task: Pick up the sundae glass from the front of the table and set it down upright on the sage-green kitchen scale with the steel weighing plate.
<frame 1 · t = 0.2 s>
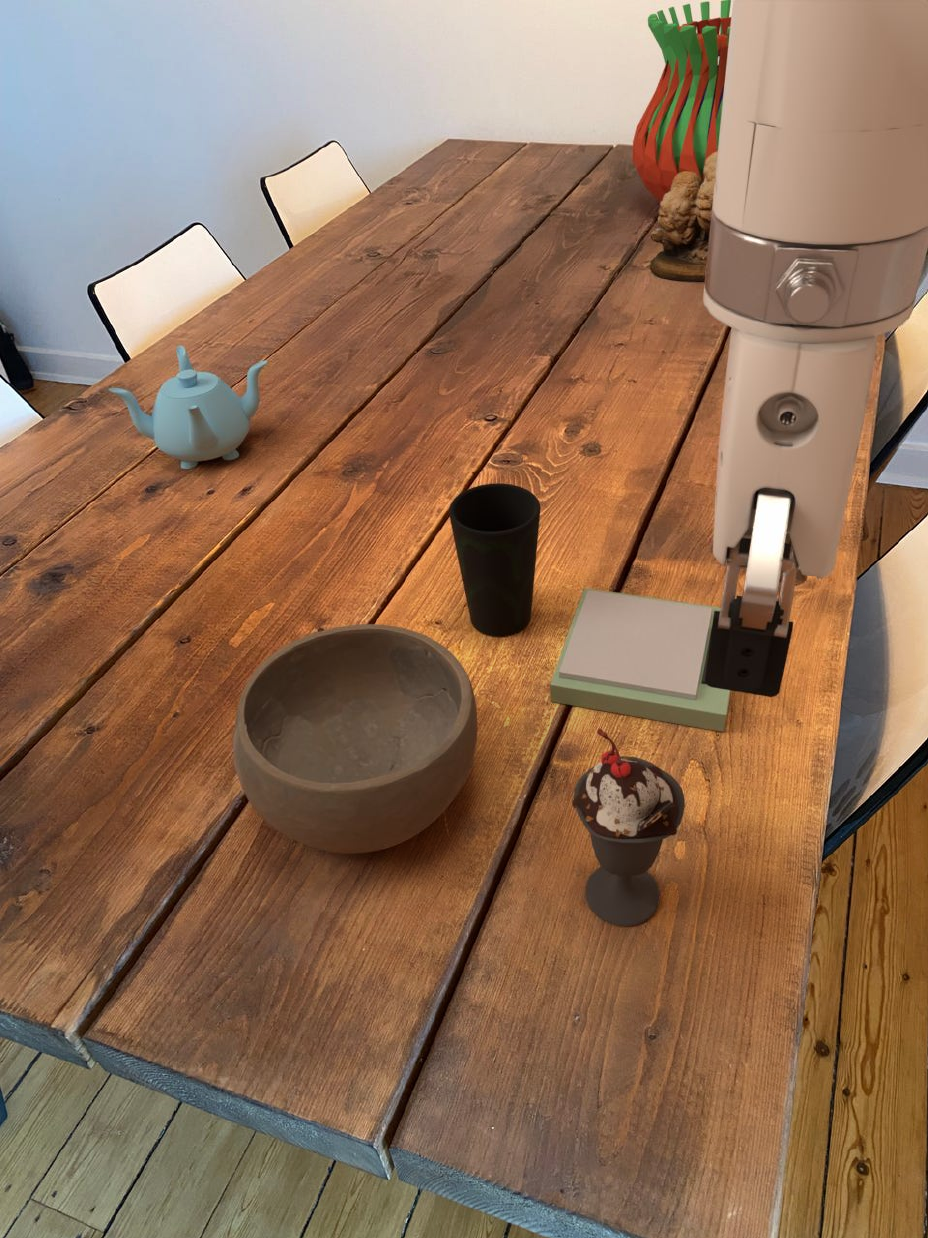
hand: (750, 618, 46), 26 cm above the table, tool pointing down, fingers open, 9 cm apart
vase: (715, 209, 170), on the table
teapot: (209, 451, 114), on the table
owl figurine: (707, 269, 148), on the table
sundae: (621, 895, 64), on the table
scale: (648, 663, 81), on the table
cup: (500, 618, 87), on the table
bowl: (370, 792, 72), on the table
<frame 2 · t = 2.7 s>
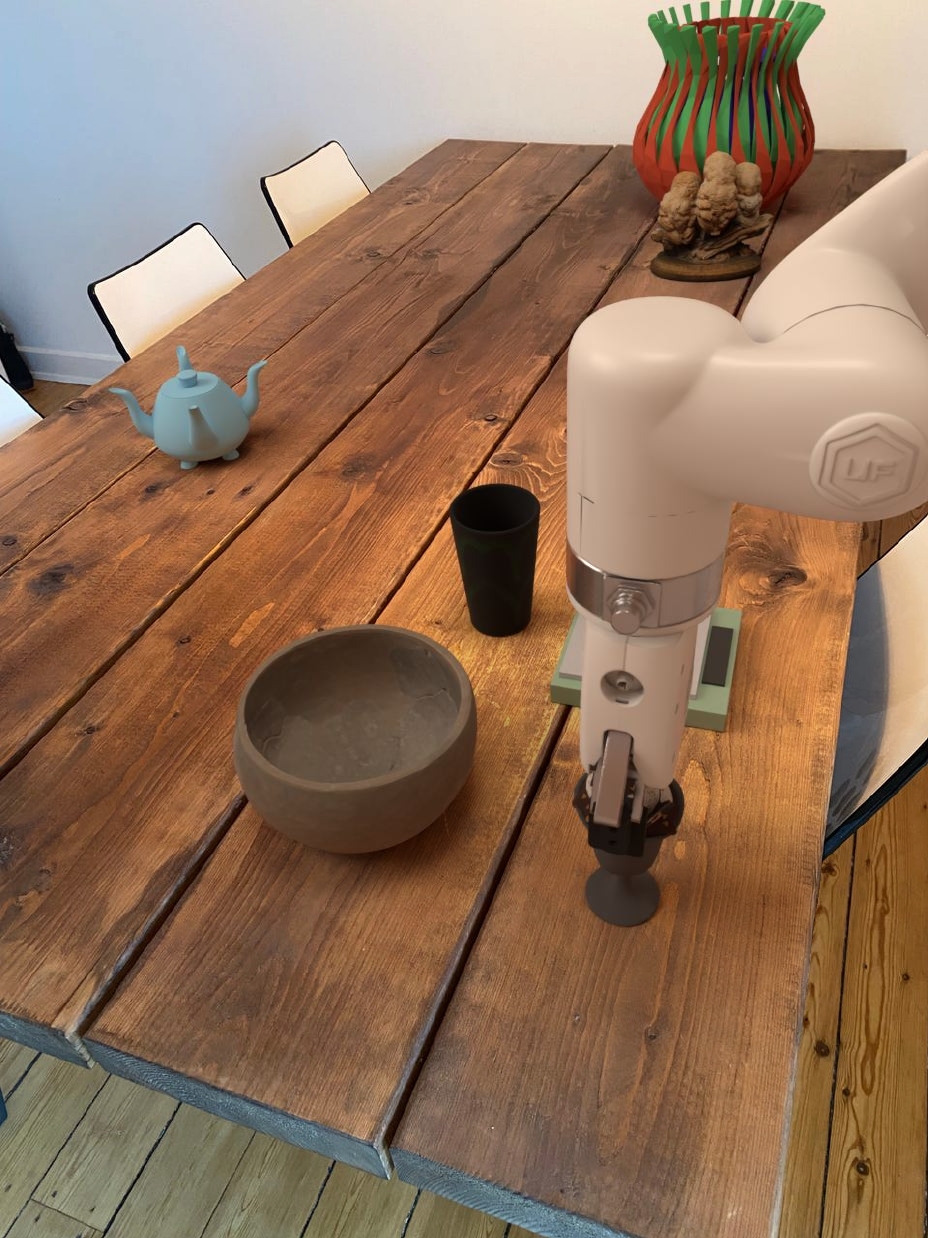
hand: (627, 798, 57), 10 cm above the table, tool pointing down, fingers closed on sundae, 6 cm apart
sundae: (621, 895, 64), on the table, touching gripper
everything else where it was.
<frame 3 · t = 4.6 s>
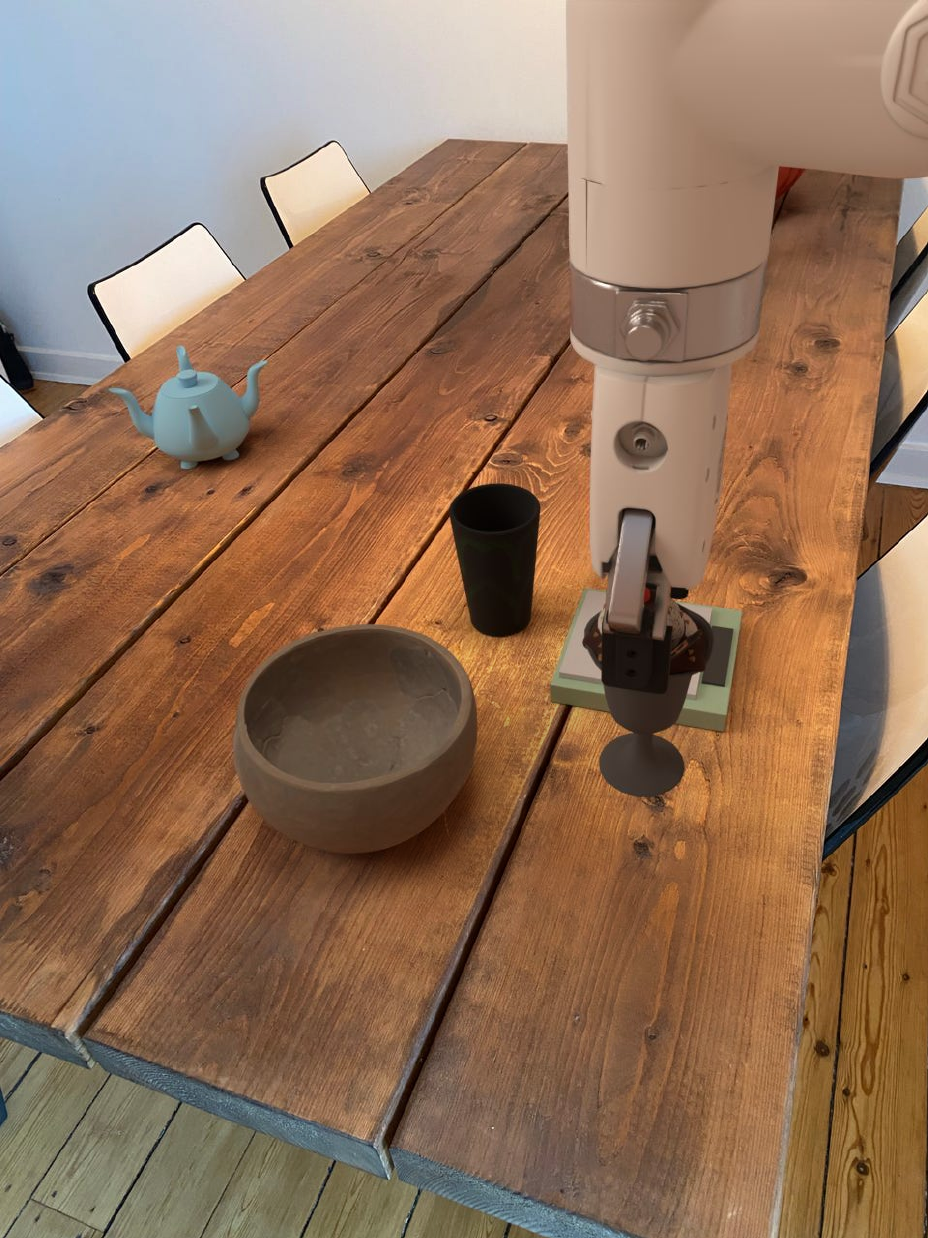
hand: (647, 635, 49), 23 cm above the table, tool pointing down, fingers closed on sundae, 6 cm apart
sundae: (640, 767, 56), point 13 cm above the table, touching gripper
everything else where it was.
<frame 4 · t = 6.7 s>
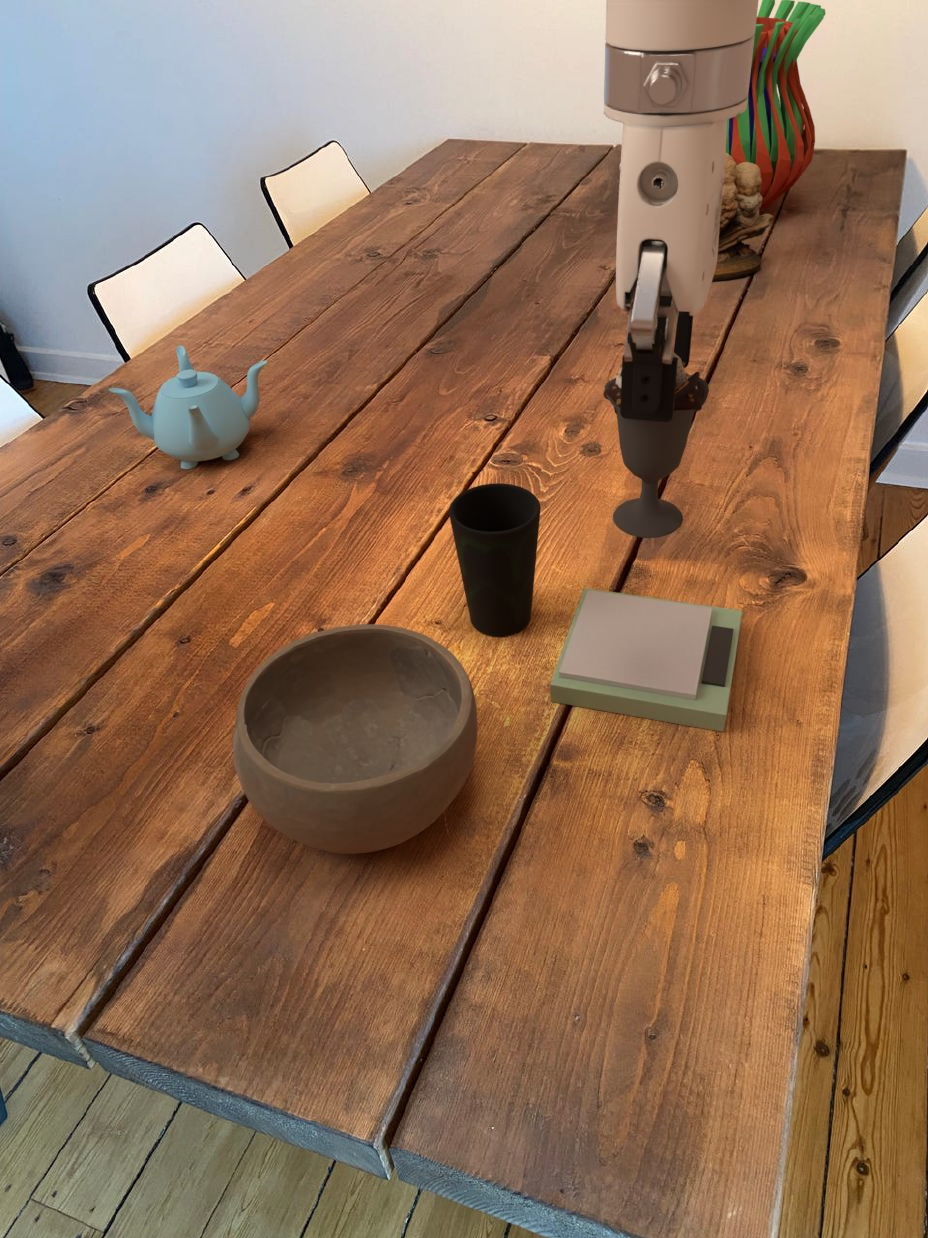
hand: (655, 388, 61), 27 cm above the table, tool pointing down, fingers closed on sundae, 6 cm apart
sundae: (646, 520, 68), point 17 cm above the table, touching gripper
everything else where it was.
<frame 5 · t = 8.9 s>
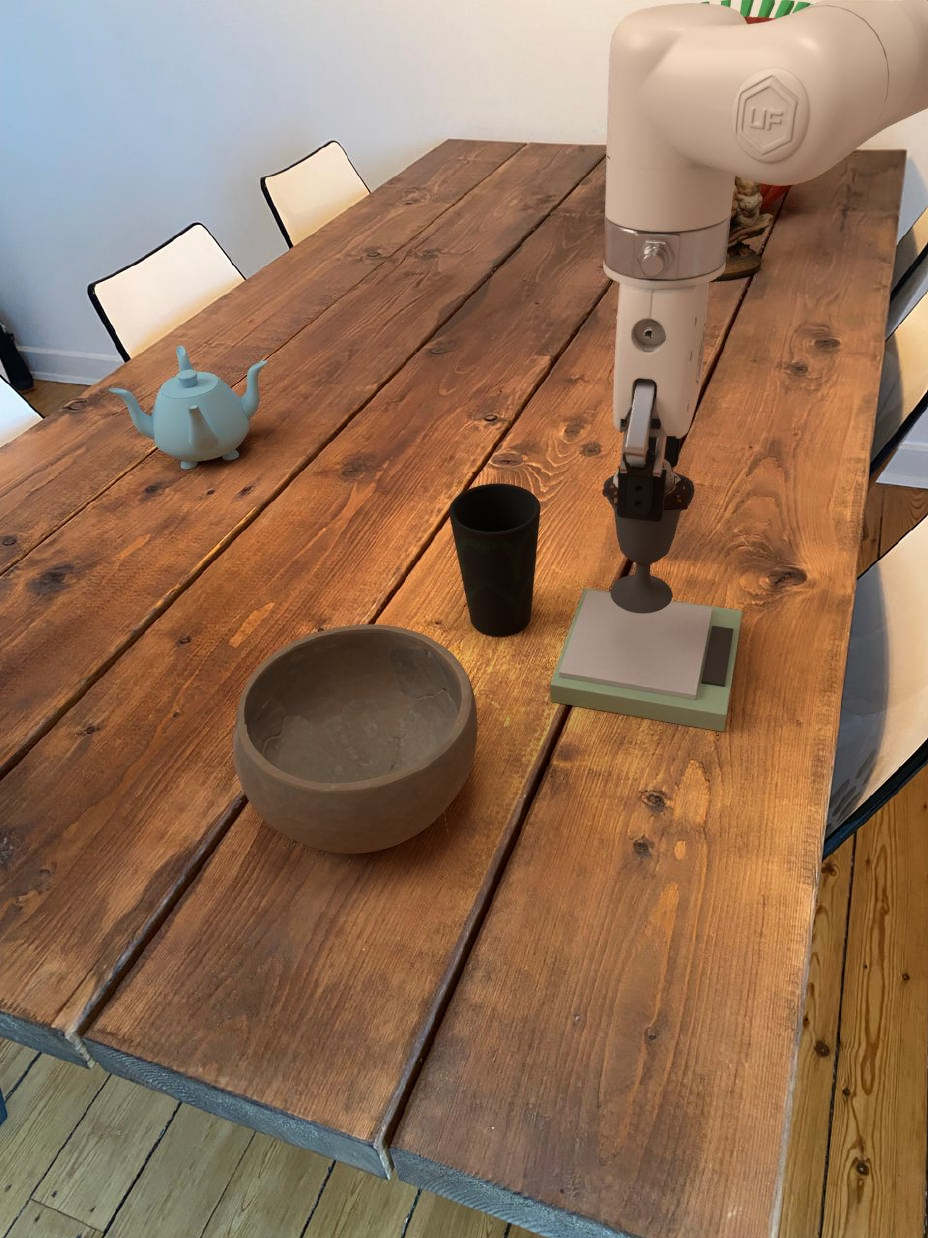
hand: (648, 487, 70), 17 cm above the table, tool pointing down, fingers closed on sundae, 6 cm apart
sundae: (640, 596, 76), point 7 cm above the table, touching gripper
everything else where it was.
when the fingers open (13 cm above the table, at t = 10.6 s): sundae stays where it is, resting on scale.
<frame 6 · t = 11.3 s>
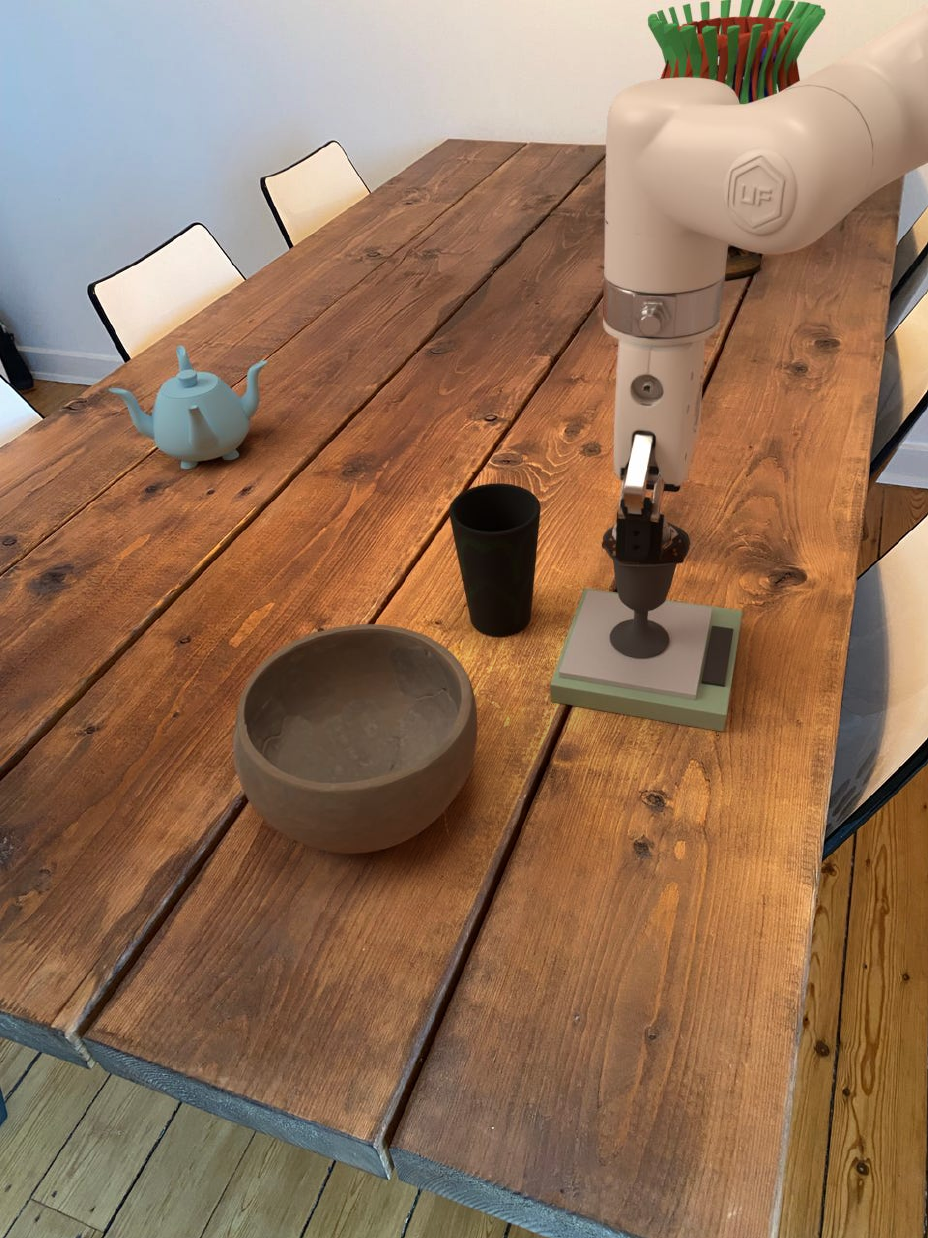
hand: (649, 522, 72), 14 cm above the table, tool pointing down, fingers open, 9 cm apart
sundae: (638, 640, 79), point 2 cm above the table, touching scale
everything else where it was.
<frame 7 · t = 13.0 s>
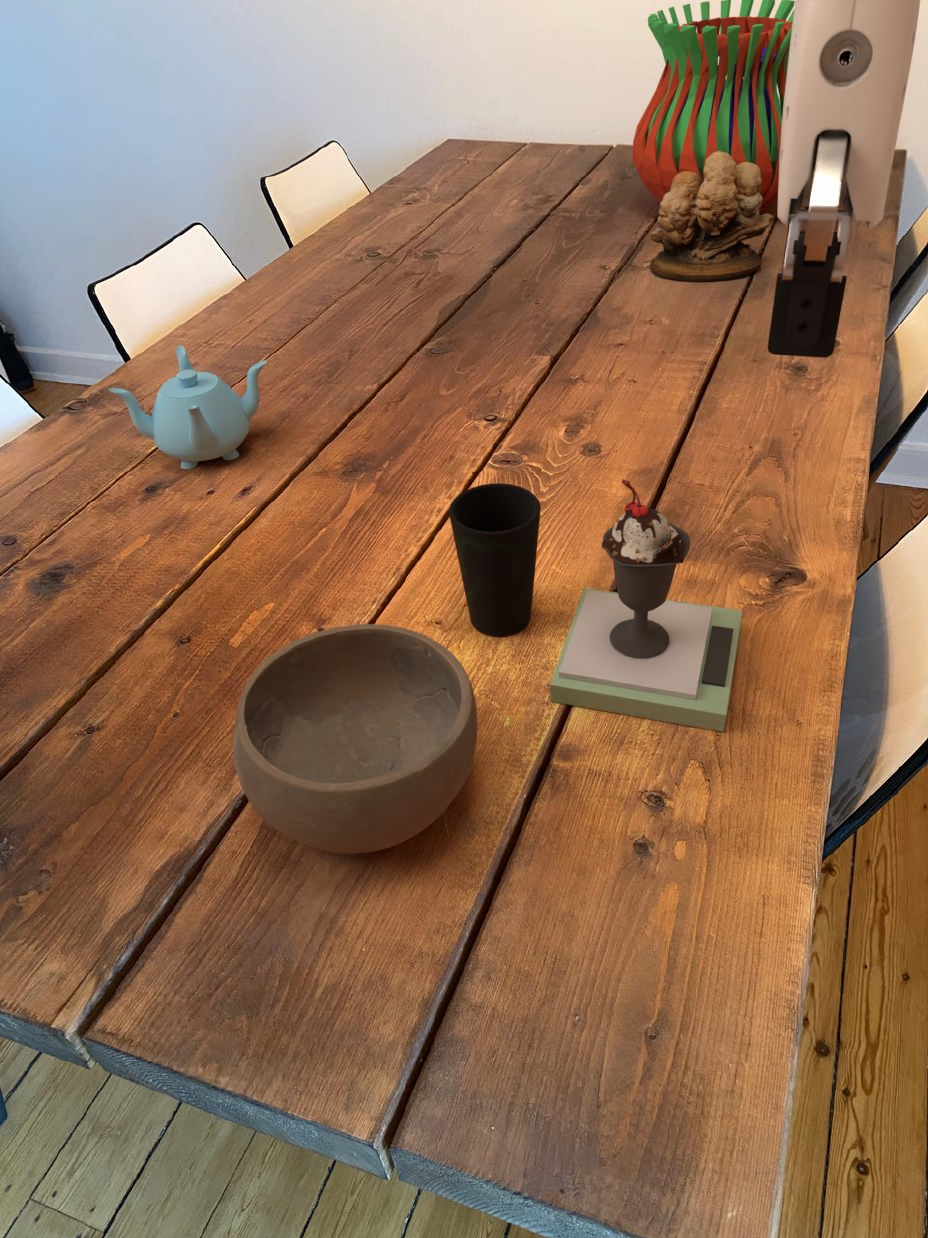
hand: (804, 315, 52), 34 cm above the table, tool pointing down, fingers open, 9 cm apart
nothing on the table moved.
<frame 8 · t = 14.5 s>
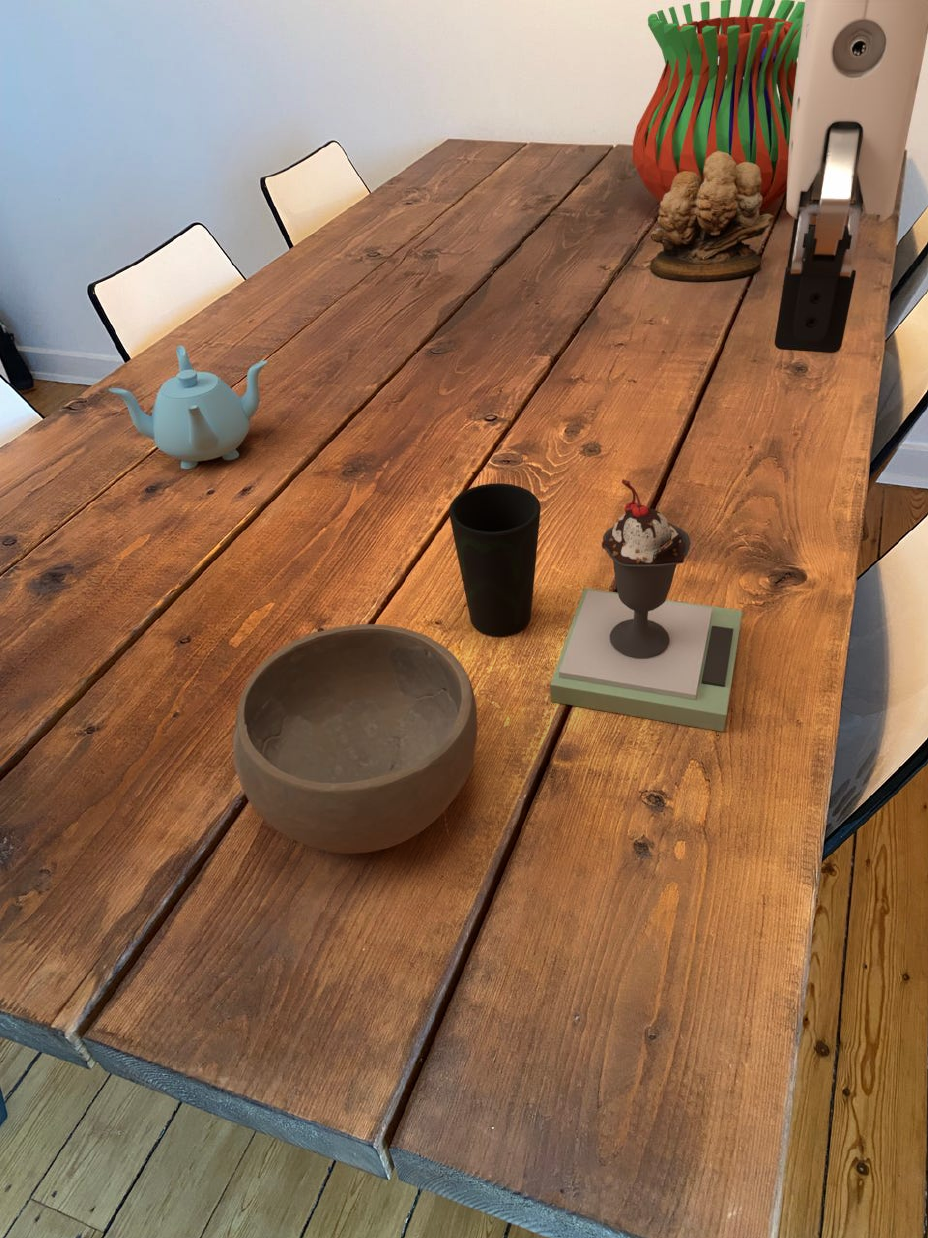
hand: (810, 310, 52), 34 cm above the table, tool pointing down, fingers open, 9 cm apart
nothing on the table moved.
at the end: sundae inside the target area on the scale (0.3 cm from its centre), point 2.4 cm above the scale's base; sundae tilted 0°; the gripper is holding nothing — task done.
